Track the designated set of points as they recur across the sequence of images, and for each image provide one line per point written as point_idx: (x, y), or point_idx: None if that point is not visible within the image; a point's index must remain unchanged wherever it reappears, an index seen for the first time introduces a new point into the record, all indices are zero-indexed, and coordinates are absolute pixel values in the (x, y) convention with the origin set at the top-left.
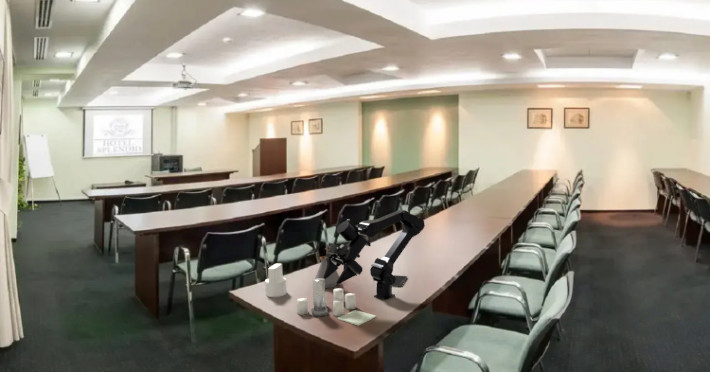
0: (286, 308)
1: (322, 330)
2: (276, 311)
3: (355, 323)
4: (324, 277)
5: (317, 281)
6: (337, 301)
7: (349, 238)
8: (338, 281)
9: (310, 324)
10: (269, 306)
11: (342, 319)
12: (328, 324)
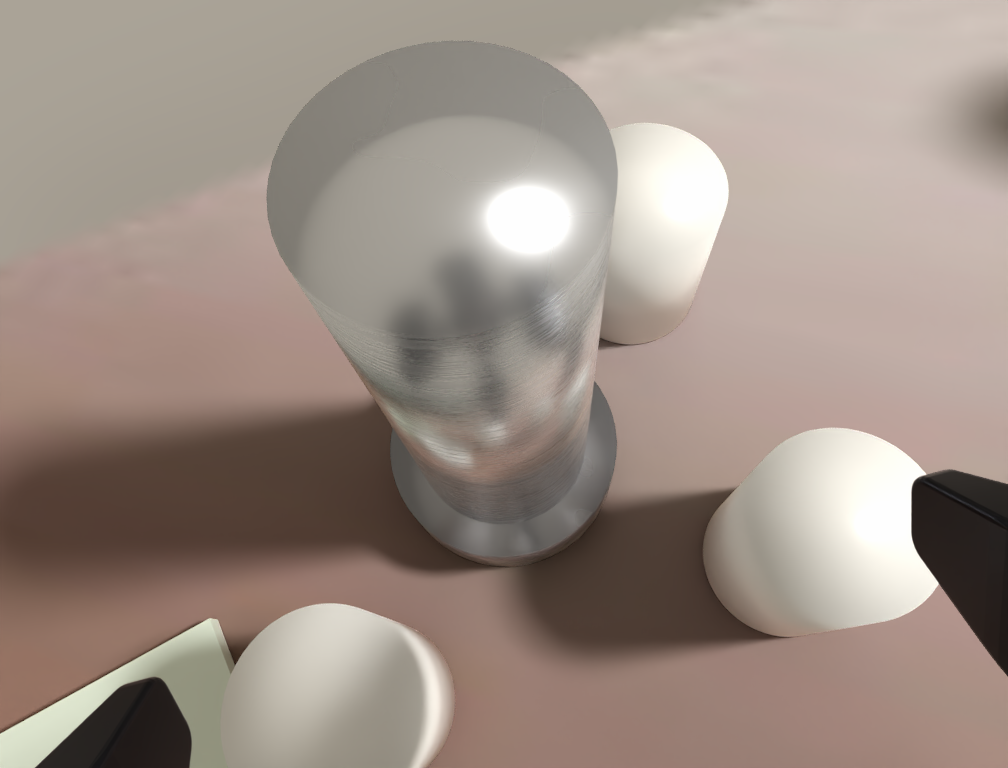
0: (839, 155)
1: (27, 360)
2: (772, 59)
3: None
4: (925, 500)
5: (310, 120)
6: (307, 685)
7: None
8: (73, 755)
9: (245, 288)
10: (959, 17)
11: (124, 666)
12: (134, 464)
